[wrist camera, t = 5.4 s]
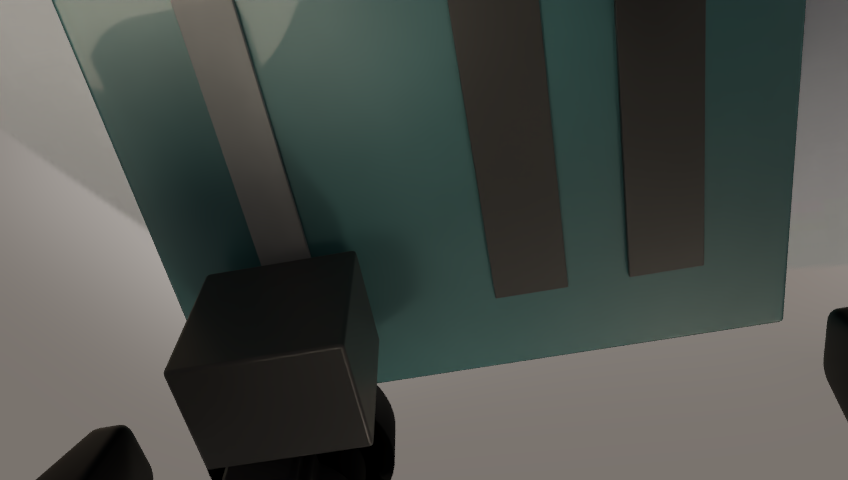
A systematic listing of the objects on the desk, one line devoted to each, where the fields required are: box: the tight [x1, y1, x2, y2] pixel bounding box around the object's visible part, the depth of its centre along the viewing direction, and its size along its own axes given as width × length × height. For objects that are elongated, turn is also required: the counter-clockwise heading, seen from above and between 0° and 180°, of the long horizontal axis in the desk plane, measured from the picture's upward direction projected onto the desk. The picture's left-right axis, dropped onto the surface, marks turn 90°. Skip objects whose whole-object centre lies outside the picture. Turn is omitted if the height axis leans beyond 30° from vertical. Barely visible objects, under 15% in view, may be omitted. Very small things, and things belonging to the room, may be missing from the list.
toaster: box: [52, 0, 806, 383], centre depth 15 cm, size 8×10×10 cm
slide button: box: [164, 251, 379, 470], centre depth 11 cm, size 2×2×2 cm
